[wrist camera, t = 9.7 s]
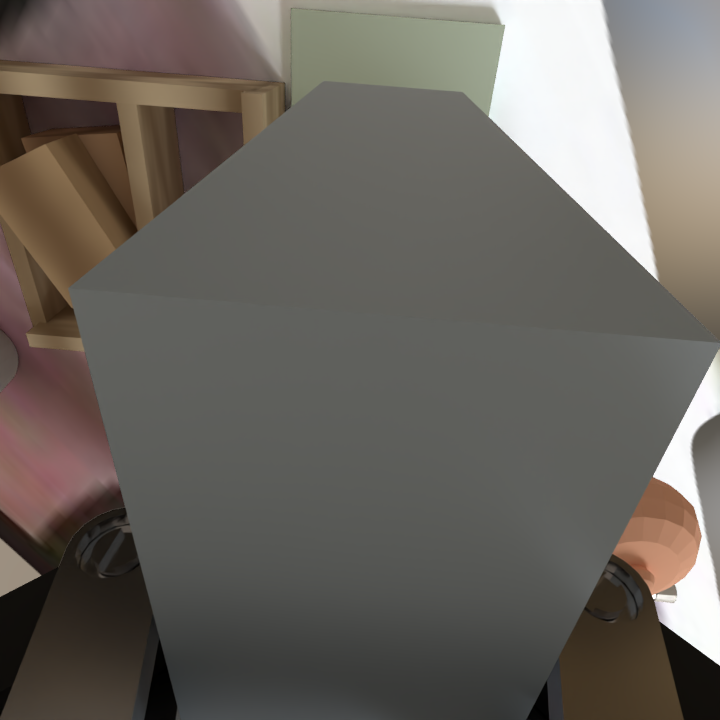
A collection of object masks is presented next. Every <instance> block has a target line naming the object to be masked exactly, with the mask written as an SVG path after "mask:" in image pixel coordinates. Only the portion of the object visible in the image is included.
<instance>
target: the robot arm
mask: <svg viewBox="0 0 720 720" xmlns="http://www.w3.org/2000/svg"><path fill="white" fill-rule="evenodd" d="M676 598H677V590H676V587H675V585H673V586H672V587H670V588H668V589H666V590H663V591H661V592H659V593H656V594H654V595H652V594H651V592H650V589H649V587H648V585H647V584H646V582H645V581H644V580H643V578H642V577H641V576H640V574H639V573H638V572H637V571H636V570H635V569H633V568H632V567H631V566H630V565H629V564H628V563H627V562H625V561H624V560H622V559H620V558H619V557H617V556H615V555H614V554H612V555H611V557H610V559H609V561H608V563H607V565H606V567H605V569H604V571H603V573H602V575H601V577H600V578H599V580H598V582H597V584H596V586H595V588H594V590H593V592H592V594H591V596H590V598H589V600H588V602H587V603H586V605H585V607H584V609H583V611H582V613H581V615H580V617H579V619H578V621H577V623H576V625H575V627H574V629H573V630H572V632H571V634H570V636H569V638H568V640H567V642H566V644H565V646H564V648H563V650H562V652H561V654H560V655H559V657H558V659H557V661H556V663H555V665H554V667H553V669H552V671H551V673H550V675H549V677H548V679H547V681H546V682H545V684H544V686H543V688H542V690H541V692H540V694H539V696H538V698H537V700H536V702H535V704H534V706H533V707H532V709H531V711H530V713H529V715H528V717H527V719H526V720H720V666H719V665H718V664H716V663H715V662H714V661H712V660H711V659H710V658H708V657H707V656H706V655H704V654H703V653H702V652H700V651H699V650H697V649H696V648H695V647H693V646H692V645H691V644H689V643H688V642H687V641H685V640H684V639H683V638H681V637H680V636H678V635H677V634H676V633H674V632H673V631H672V630H670V629H669V628H668V627H666V626H665V625H663V624H662V623H661V622H659V619H658V615H657V611H656V607H655V602H654V601H657V602H668V603H674V602H675V601H676ZM0 720H181V718H180V714H179V710H178V706H177V703H176V699H175V695H174V691H173V687H172V683H171V680H170V676H169V672H168V668H167V664H166V661H165V657H164V653H163V649H162V645H161V641H160V638H159V634H158V630H157V626H156V622H155V618H154V615H153V611H152V607H151V603H150V599H149V596H148V592H147V588H146V584H145V580H144V576H143V573H142V569H141V565H140V561H139V557H138V553H137V550H136V546H135V542H134V538H133V534H132V531H131V527H130V523H129V519H128V515H127V511H126V508H119V509H113V510H111V511H108V512H106V513H103V514H101V515H98V516H97V517H95V518H93V519H92V520H90V521H89V522H87V523H86V524H84V525H83V526H82V527H81V528H80V529H79V530H78V531H77V532H76V533H75V534H74V535H73V537H72V539H71V540H70V542H69V544H68V546H67V547H66V550H65V552H64V555H63V557H62V560H61V563H60V565H59V567H57V568H56V569H54V570H52V571H50V572H48V573H46V574H44V575H42V576H40V577H38V578H36V579H34V580H32V581H30V582H28V583H26V584H24V585H23V586H21V587H19V588H17V589H15V590H13V591H11V592H9V593H7V594H5V595H3V596H1V597H0Z"/></svg>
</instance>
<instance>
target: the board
mask: <svg viewBox="0 0 720 720" xmlns="http://www.w3.org/2000/svg"><path fill="white" fill-rule="evenodd" d="M504 29H505V25H498V24H485V23H473V22H460V21H447V20H435V19H422V18H409V17H397V16H384V15H371V14H359V13H346V12H333V11H321V10H308V9H295V8H291V107H292V106H293V105H295V104H296V103H297V102H298V101H299V100H301V99H302V98H303V97H304V96H306V95H307V94H308V93H309V92H311V91H312V90H313V89H314V88H315V87H317V86H318V85H319V84H320V83H322V82H323V81H331V82H344V83H356V84H369V85H381V86H394V87H406V88H419V89H431V90H444V91H456V92H463V93H464V94H465V95H466V96H467V97H468V98H469V99H470V100H471V101H472V102H473V103H474V104H476V105H477V106H478V107H479V108H480V109H481V110H482V111H483V112H484V113H485V114H486V115H487V116H489V111H490V105H491V100H492V94H493V89H494V83H495V78H496V72H497V67H498V61H499V56H500V51H501V45H502V40H503V34H504Z"/></svg>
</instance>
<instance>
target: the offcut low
mask: <svg viewBox="0 0 720 720" xmlns="http://www.w3.org/2000/svg"><path fill="white" fill-rule="evenodd" d="M73 134H77V135H78V137H79V138H80V140H81V142H82V143H83V145H84V146H85V148H86V149H87V151H88V153H89V154H90V156H91V157H92V159H93V160H94V162H95V164H96V165H97V167H98V168H99V170H100V172H101V173H102V175H103V176H104V178H105V179H106V181H107V183H108V184H109V186H110V187H111V189H112V190H113V192H114V194H115V195H116V197H117V198H118V200H119V201H120V203H121V205H122V206H123V208H124V209H125V211H126V213H127V214H128V216H129V217H130V219H131V220H132V222H133V224H134V225H135V227H136V228H137V222H136V217H135V211H134V205H133V199H132V193H131V187H130V181H129V175H128V169H127V164H126V158H125V152H124V146H123V140H122V134H121V128H120V125H112V126H94V127H75V128H56V129H49V130H46V131H42V132H39V133H36V134H33V135H29V136H26V137H23V138H21V140H22V143H23V145H24V148H25V151H26V153H28V152H30V151H32V150H34V149H36V148H38V147H40V146H42V145H44V144H47V143H50V142H53V141H56V140H58V139H61V138H64V137H67V136H70V135H73ZM137 230H138V228H137Z"/></svg>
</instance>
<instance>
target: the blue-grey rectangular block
mask: <svg viewBox="0 0 720 720" xmlns="http://www.w3.org/2000/svg"><path fill="white" fill-rule="evenodd" d="M68 290H69V294H70V297H71V301H72V305H73V309H74V313H75V317H76V320H77V324H78V328H79V332H80V336H81V339H82V343H83V347H84V351H85V355H86V359H87V362H88V366H89V370H90V374H91V378H92V382H93V385H94V389H95V393H96V397H97V401H98V404H99V408H100V412H101V416H102V420H103V424H104V427H105V431H106V435H107V439H108V443H109V446H110V450H111V454H112V458H113V462H114V466H115V469H116V473H117V477H118V481H119V485H120V489H121V492H122V496H123V500H124V504H125V508H126V511H127V515H128V519H129V523H130V527H131V531H132V534H133V538H134V542H135V546H136V550H137V553H138V557H139V561H140V565H141V569H142V573H143V576H144V580H145V584H146V588H147V592H148V596H149V599H150V603H151V607H152V611H153V615H154V618H155V622H156V626H157V630H158V634H159V638H160V641H161V645H162V649H163V653H164V657H165V661H166V664H167V668H168V672H169V676H170V680H171V683H172V687H173V691H174V695H175V699H176V703H177V706H178V710H179V714H180V718H181V720H526V719H527V717H528V715H529V713H530V711H531V709H532V707H533V706H534V704H535V702H536V700H537V698H538V696H539V694H540V692H541V690H542V688H543V686H544V684H545V682H546V681H547V679H548V677H549V675H550V673H551V671H552V669H553V667H554V665H555V663H556V661H557V659H558V657H559V655H560V654H561V652H562V650H563V648H564V646H565V644H566V642H567V640H568V638H569V636H570V634H571V632H572V630H573V629H574V627H575V625H576V623H577V621H578V619H579V617H580V615H581V613H582V611H583V609H584V607H585V605H586V603H587V602H588V600H589V598H590V596H591V594H592V592H593V590H594V588H595V586H596V584H597V582H598V580H599V578H600V577H601V575H602V573H603V571H604V569H605V567H606V565H607V563H608V561H609V559H610V557H611V555H612V553H613V552H614V550H615V548H616V546H617V544H618V542H619V540H620V538H621V536H622V534H623V532H624V530H625V528H626V526H627V525H628V523H629V521H630V519H631V517H632V515H633V513H634V511H635V509H636V507H637V505H638V503H639V501H640V500H641V498H642V496H643V494H644V492H645V490H646V488H647V486H648V484H649V482H650V480H651V478H652V476H653V474H654V473H655V471H656V469H657V467H658V465H659V463H660V461H661V459H662V457H663V455H664V453H665V451H666V449H667V448H668V446H669V444H670V442H671V440H672V438H673V436H674V434H675V432H676V430H677V428H678V426H679V424H680V423H681V421H682V419H683V417H684V415H685V413H686V411H687V409H688V407H689V405H690V403H691V401H692V399H693V397H694V396H695V394H696V392H697V390H698V388H699V386H700V384H701V382H702V380H703V378H704V376H705V374H706V372H707V371H708V369H709V367H710V365H711V363H712V361H713V359H714V357H715V355H716V353H717V351H718V349H719V347H720V341H719V340H718V339H717V338H716V337H715V336H714V335H713V334H712V333H711V332H710V331H709V330H707V329H706V327H705V326H704V325H702V324H701V323H700V322H699V321H698V320H697V319H696V318H695V317H694V316H693V315H692V314H691V313H690V312H689V311H688V310H687V309H686V308H685V307H684V306H683V305H682V304H681V303H680V302H679V301H678V300H676V298H675V297H673V295H672V294H671V293H669V292H668V291H667V290H666V289H665V288H664V287H663V286H662V285H661V284H660V283H659V282H658V281H657V280H656V279H655V278H654V277H653V276H652V275H651V274H650V273H649V272H648V271H647V270H646V269H645V268H644V267H643V266H642V265H641V264H640V263H639V262H637V261H636V260H635V259H634V258H633V257H632V256H631V255H630V254H629V253H628V252H627V251H626V250H625V249H624V248H623V247H622V246H621V245H620V244H619V243H618V242H617V241H616V240H615V239H614V238H613V237H612V236H611V235H610V234H609V233H608V232H607V231H606V230H604V229H603V228H602V227H601V226H600V225H599V224H598V223H597V222H596V221H595V220H594V219H593V218H592V217H591V216H590V215H589V214H588V213H587V212H586V211H585V210H584V209H583V208H582V207H581V206H580V205H579V204H578V203H577V202H576V201H575V200H574V199H573V198H571V197H570V196H569V195H568V194H567V193H566V192H565V191H564V190H563V189H562V188H561V187H560V186H559V185H558V184H557V183H556V182H555V181H554V180H553V179H552V178H551V177H550V176H549V175H548V174H547V173H546V172H545V171H544V170H543V169H542V168H541V167H539V166H538V165H537V164H536V163H535V162H534V161H533V160H532V159H531V158H530V157H529V156H528V155H527V154H526V153H525V152H524V151H523V150H522V149H521V148H520V147H519V146H518V145H517V144H516V143H515V142H514V141H513V140H512V139H511V138H510V137H509V136H508V135H506V134H505V133H504V132H503V131H502V130H501V129H500V128H499V127H498V126H497V125H496V124H495V123H494V122H493V121H492V120H491V119H490V118H489V117H488V116H487V115H486V114H485V113H484V112H483V111H482V110H481V109H480V108H479V107H478V106H477V105H476V104H474V103H473V102H472V101H471V100H470V99H469V98H468V97H467V96H466V95H465V94H464V93H463V92H456V91H444V90H431V89H419V88H406V87H394V86H381V85H369V84H356V83H344V82H331V81H323V82H322V83H320V84H319V85H318V86H317V87H315V88H314V89H313V90H312V91H311V92H309V93H308V94H307V95H306V96H304V97H303V98H302V99H301V100H299V101H298V102H297V103H296V104H295V105H293V106H292V107H291V108H290V109H288V110H287V111H286V112H285V113H283V114H282V115H281V116H280V117H278V118H277V119H276V120H275V121H274V122H272V123H271V124H270V125H269V126H267V127H266V128H265V129H264V130H262V131H261V132H260V133H259V134H258V135H256V136H255V137H254V138H253V139H251V140H250V141H249V142H248V143H246V144H245V145H244V146H243V147H242V148H240V149H239V150H238V151H237V152H235V153H234V154H233V155H232V156H230V157H229V158H228V159H227V160H226V161H224V162H223V163H222V164H221V165H219V166H218V167H217V168H216V169H214V170H213V171H212V172H211V173H209V174H208V175H207V176H206V177H205V178H203V179H202V180H201V181H200V182H198V183H197V184H196V185H195V186H193V187H192V188H191V189H190V190H189V191H187V192H186V193H185V194H184V195H182V196H181V197H180V198H179V199H177V200H176V201H175V202H174V203H173V204H171V205H170V206H169V207H168V208H166V209H165V210H164V211H163V212H161V213H160V214H159V215H158V216H156V217H155V218H154V219H153V220H152V221H150V222H149V223H148V224H147V225H145V226H144V227H143V228H142V229H140V230H139V231H138V232H137V233H136V234H134V235H133V236H132V237H131V238H129V239H128V240H127V241H126V242H124V243H123V244H122V245H121V246H120V247H118V248H117V249H116V250H115V251H113V252H112V253H111V254H110V255H108V256H107V257H106V258H105V259H104V260H102V261H101V262H100V263H99V264H97V265H96V266H95V267H94V268H92V269H91V270H90V271H89V272H87V273H86V274H85V275H84V276H83V277H81V278H80V279H79V280H78V281H76V282H75V283H74V284H73V285H71V286H70V287H69V288H68Z"/></svg>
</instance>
